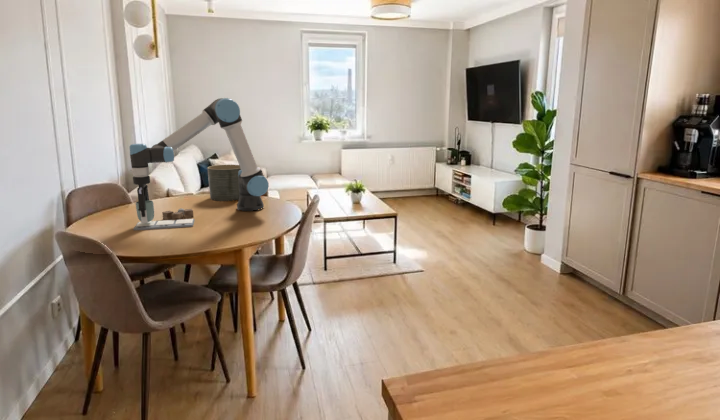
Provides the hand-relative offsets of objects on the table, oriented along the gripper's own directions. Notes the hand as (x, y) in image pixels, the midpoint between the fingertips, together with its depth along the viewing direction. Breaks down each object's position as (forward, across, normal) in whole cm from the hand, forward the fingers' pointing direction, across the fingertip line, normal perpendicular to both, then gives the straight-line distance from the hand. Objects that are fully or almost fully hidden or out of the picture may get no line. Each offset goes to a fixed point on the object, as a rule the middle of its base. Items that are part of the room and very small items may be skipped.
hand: (146, 220), depth 227 cm
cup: (+1, 0, 0) cm, 1 cm away
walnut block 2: (+3, -8, +14) cm, 16 cm away
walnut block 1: (+3, -12, +9) cm, 15 cm away
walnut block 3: (+3, -14, +19) cm, 23 cm away
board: (+3, +2, +9) cm, 9 cm away
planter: (+3, -60, +39) cm, 71 cm away
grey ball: (+3, -18, +15) cm, 23 cm away
